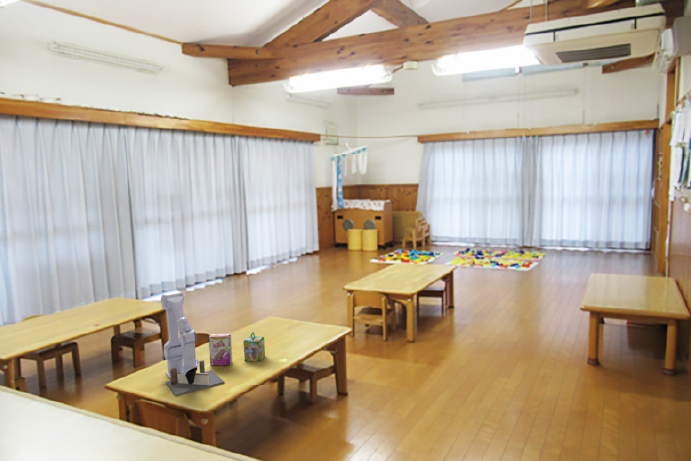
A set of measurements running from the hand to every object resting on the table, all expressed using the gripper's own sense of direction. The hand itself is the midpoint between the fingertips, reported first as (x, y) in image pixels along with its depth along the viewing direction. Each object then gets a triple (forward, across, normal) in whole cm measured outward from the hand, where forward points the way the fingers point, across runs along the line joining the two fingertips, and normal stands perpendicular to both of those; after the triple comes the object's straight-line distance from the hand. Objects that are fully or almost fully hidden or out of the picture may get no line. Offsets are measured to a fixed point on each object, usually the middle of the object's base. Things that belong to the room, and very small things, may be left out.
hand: (191, 383), depth 228 cm
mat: (+3, +7, +1) cm, 8 cm away
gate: (+2, +4, +1) cm, 4 cm away
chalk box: (+3, +41, -18) cm, 45 cm away
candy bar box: (+3, +32, -2) cm, 32 cm away
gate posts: (+3, +10, +6) cm, 12 cm away
